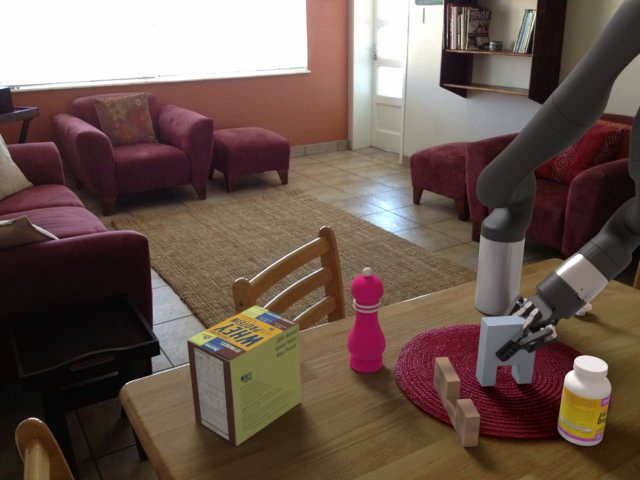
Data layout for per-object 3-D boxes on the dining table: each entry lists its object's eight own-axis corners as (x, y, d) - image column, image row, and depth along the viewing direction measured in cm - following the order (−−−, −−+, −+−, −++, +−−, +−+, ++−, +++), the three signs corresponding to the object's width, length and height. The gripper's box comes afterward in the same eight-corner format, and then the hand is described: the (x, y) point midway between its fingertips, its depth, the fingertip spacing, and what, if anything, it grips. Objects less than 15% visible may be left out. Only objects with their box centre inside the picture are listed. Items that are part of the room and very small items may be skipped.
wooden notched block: (433, 384, 109) (435, 357, 107) (445, 383, 110) (447, 356, 108) (463, 447, 93) (466, 417, 92) (477, 446, 94) (480, 416, 92)
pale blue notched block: (481, 386, 107) (487, 326, 102) (475, 376, 109) (481, 317, 105) (531, 382, 107) (539, 322, 103) (524, 373, 110) (531, 314, 106)
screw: (567, 316, 133) (566, 306, 137) (591, 319, 131) (589, 309, 136) (575, 261, 128) (574, 253, 133) (600, 264, 127) (598, 255, 131)
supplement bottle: (598, 453, 92) (611, 380, 87) (552, 438, 95) (563, 367, 91) (605, 429, 97) (618, 359, 93) (561, 415, 100) (572, 347, 96)
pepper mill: (390, 359, 117) (393, 263, 110) (377, 378, 111) (379, 278, 104) (355, 351, 120) (356, 257, 113) (341, 369, 114) (341, 271, 107)
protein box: (302, 401, 105) (300, 321, 100) (236, 448, 94) (229, 361, 89) (260, 380, 111) (255, 303, 106) (193, 421, 100) (184, 338, 95)
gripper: (540, 256, 108) (468, 320, 111) (579, 290, 95) (496, 362, 98) (564, 281, 111) (493, 344, 114) (606, 318, 97) (524, 388, 101)
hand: (495, 352), depth 106 cm, fingers closed on pale blue notched block, 3 cm apart
